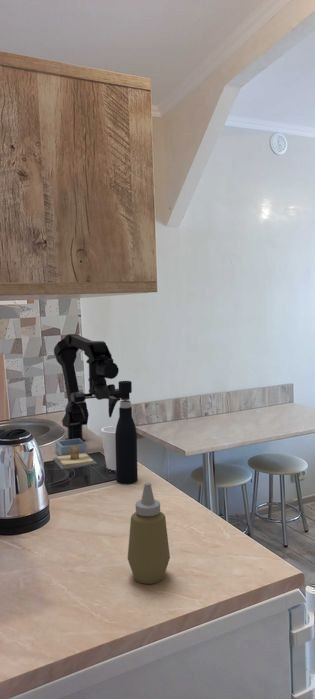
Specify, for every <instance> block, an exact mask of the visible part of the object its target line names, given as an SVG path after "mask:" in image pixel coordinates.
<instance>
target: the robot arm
mask: <svg viewBox="0 0 315 699" xmlns="http://www.w3.org/2000/svg"><path fill="white" fill-rule="evenodd" d="M79 350H81V351H83V354H84V355H85V356H86V358H87V360H86V364H88V376H89V377H88V379H87V380H88V382H89V384H88V386H89V387H88V388H89V389H88V393H85V392H83V391H80V390H79V389H80V388H79V384H78V378H77V374H76V369H75V368H76V367H75V362H76V360H77V353H78V351H79ZM53 354H54V356H55V360H56V362H57V363H58V364H59V365H60V366H61V369H62V374H63V379H64V380H63V381H64V385H65V390H66V391H65V392H66V397H67V404H66V406H65V409H64V410H65V414H64V416H63V418H62V420H61V423H62V426H63V427H65V428H67V437H66V438H65V440H69V439H77V438H80V439H81V440H82V441H83V442H86V439H85V438H84V437H83V426H87V425H88V421H89V416H90V414H89V410H88V406H87V402H86V400H87V399H89V400H90V399H97V400H99V401H100V400H108V401H107V402H108V418H112V417H113V416H112V415H113V414H114V413H113V412H114V410H115V407H116V405H117V403H118V402H120V401H122V400H121V393H119V388H116V385H115V384H114V383H113V384H108V383H107V379H108V380H109V379H110V380H112V379H115V378H116V377H117V376H118V374H119V370H120V369H119V367H118V365H117V363H115V362H114V359H113V357H112V356H113V355H112V353H111V352H110V349H109V347H108V345H107V343H106V342H105V341H101V340H98V341H97V340H91V339H88V338H86V337H83V336H81V335H80V334H78V333H70V334H67V335H65V336H64V338H63V339H61V340H60V341H58V342H57V343H56V345H55V346H54V348H53ZM107 384H108V385H107Z"/></svg>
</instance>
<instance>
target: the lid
mask: <svg viewBox="0 0 315 699" xmlns="http://www.w3.org/2000/svg"><path fill="white" fill-rule="evenodd" d="M87 454H88V453H87ZM87 454H86V453H79V446H71V447H70V455H65V456H59V455H58V456H56V458H57V460H58V461H59V462H60V463H61V464H62V466H63V467H68V466H75V465H82V464H89V463H93V460H94V459H93V458H92V457H91V456H90V455H89V454H88V455H89V456H90V457H91V458H92V459H93V460H92V459H91V458H90V457H89V456H88V455H87Z"/></svg>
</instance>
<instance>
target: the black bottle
mask: <svg viewBox="0 0 315 699" xmlns="http://www.w3.org/2000/svg"><path fill="white" fill-rule="evenodd" d="M132 388H133V386H132V381H131V380H120V381H118V389H119V393H121V398H120V399H121V400H119V408H118V413H119V414H118V421H117V424H116V425H115V426H116V433H115V442H116V472H115V476H116V477H115V478H116V479H115V480H116V483H117V484H120V485H130V484H131V485H132V484H135V483H137V482H138V480H139V478H138V477H139V475H138V474H139V472H138V432H137V428H136V424H135V421H134V417H133V412H132V411H133V408H132V405H131V404H132V402H131V399H130V394H131V393H132Z"/></svg>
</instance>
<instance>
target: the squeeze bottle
mask: <svg viewBox="0 0 315 699" xmlns="http://www.w3.org/2000/svg"><path fill="white" fill-rule="evenodd" d="M128 537H129V538H128V549H127V561H128V564H129V567H130V570H131V572H132V575H133V578H134V580H136V581H137V582H138V583H141V584H148V585H151V584H157V583H159V582H161V581H162V580H163V579H164V577H165V574H166V571H167V568H168V565H169V562H170V559H171V556H170V547H169V546H170V545H169V538H168V529H167V520H166V516H165V514H164V512H162V511H161V503H160V501H159V500H158V499H155V496H154V492H153V489H152V484H151V483H150V482H149V483H148V482H147V483H144V485H143V490H142V494H141V499H139V500H137V501H136V503H135V512H134V513H133V514H132V515H131V516H130V525H129V536H128Z"/></svg>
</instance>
